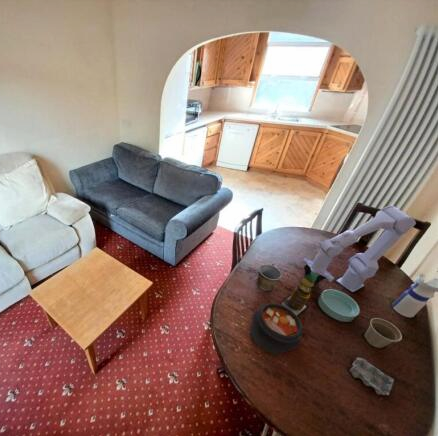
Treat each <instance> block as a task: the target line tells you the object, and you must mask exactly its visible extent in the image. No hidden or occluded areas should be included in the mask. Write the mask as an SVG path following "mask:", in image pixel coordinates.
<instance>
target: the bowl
mask: <svg viewBox="0 0 438 436" xmlns="http://www.w3.org/2000/svg"><path fill="white" fill-rule="evenodd" d="M317 303H318V305H319V306H318V307H320V309H321V310H322V311H323V312H324V313H325V314H326V315H327V316H328V317H331V318H332V319H334V320H337V321H339V322H343V323H344V322H345V323H350V322H352V321H354V320H355V319H356V318H357V317H358V316H359V315H360V311H361V310H360V306H359V305H358V303H357V302H356V300H355V299H353V298H352V297H351V296H349V294H347V293H345V292H344V291H343V292H342V291H341V290H337V289H331V288H328V289H325V290H323V291H322V292H321V294H320V295H319V296H318V298H317Z"/></svg>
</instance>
